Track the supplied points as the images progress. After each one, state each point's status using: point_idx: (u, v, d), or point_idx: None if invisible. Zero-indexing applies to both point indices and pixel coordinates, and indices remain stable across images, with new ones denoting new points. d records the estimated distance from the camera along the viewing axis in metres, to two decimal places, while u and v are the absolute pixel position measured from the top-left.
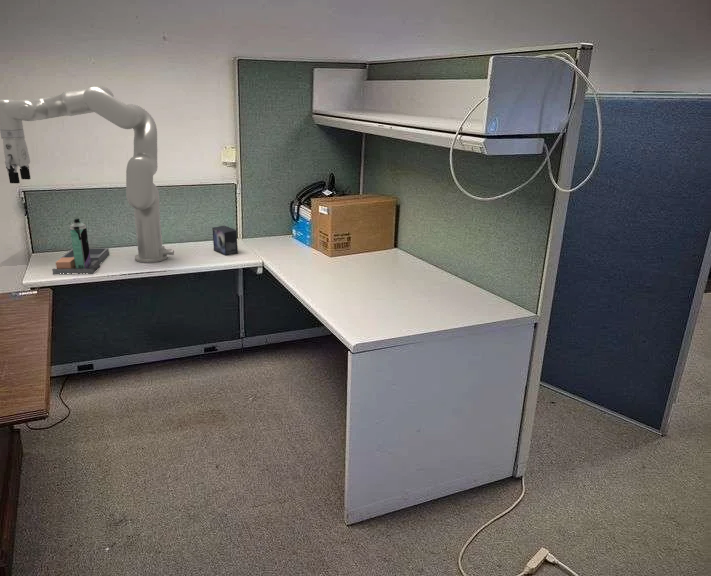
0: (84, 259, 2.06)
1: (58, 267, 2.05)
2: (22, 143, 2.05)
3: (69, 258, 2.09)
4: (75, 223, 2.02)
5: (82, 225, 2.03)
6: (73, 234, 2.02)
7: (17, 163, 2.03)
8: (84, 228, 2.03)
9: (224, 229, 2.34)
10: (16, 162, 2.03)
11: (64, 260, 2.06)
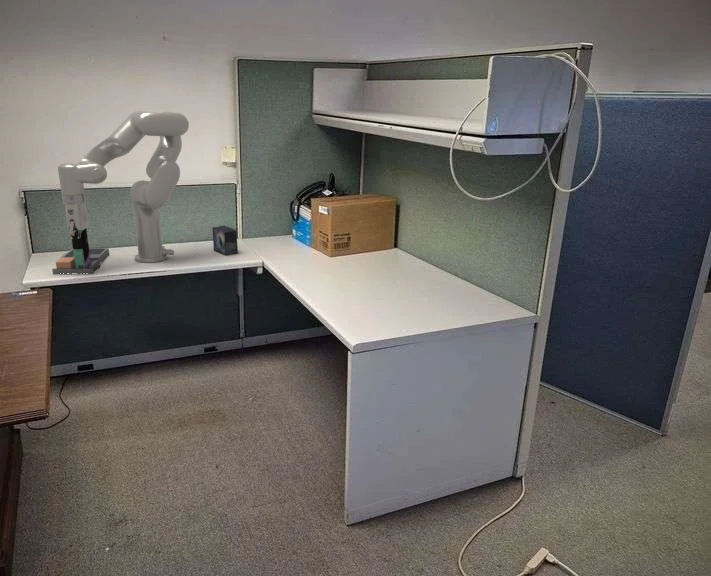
0: (84, 259, 2.06)
1: (58, 267, 2.05)
2: (83, 206, 2.02)
3: (69, 258, 2.09)
4: None
5: None
6: None
7: (79, 227, 1.99)
8: None
9: (224, 229, 2.34)
10: (78, 227, 1.99)
11: (64, 260, 2.06)
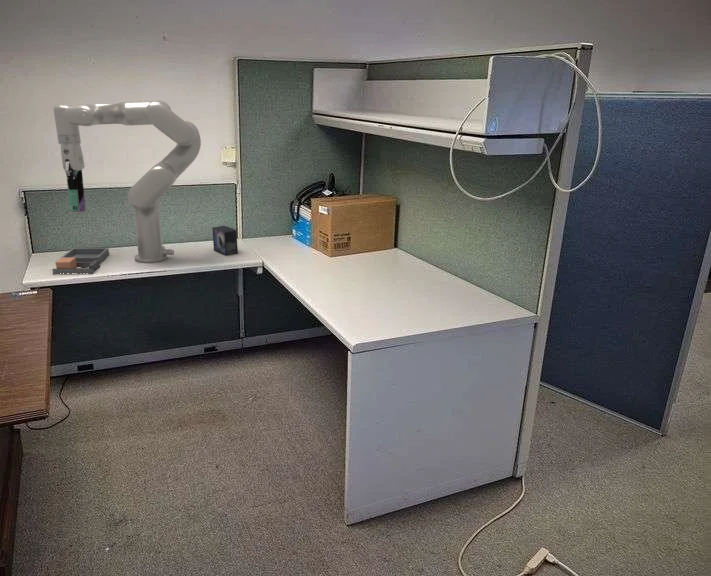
0: (79, 200, 2.12)
1: (58, 267, 2.05)
2: (78, 148, 2.08)
3: (69, 258, 2.09)
4: None
5: None
6: None
7: (74, 167, 2.05)
8: None
9: (224, 229, 2.34)
10: (73, 167, 2.05)
11: (64, 260, 2.06)
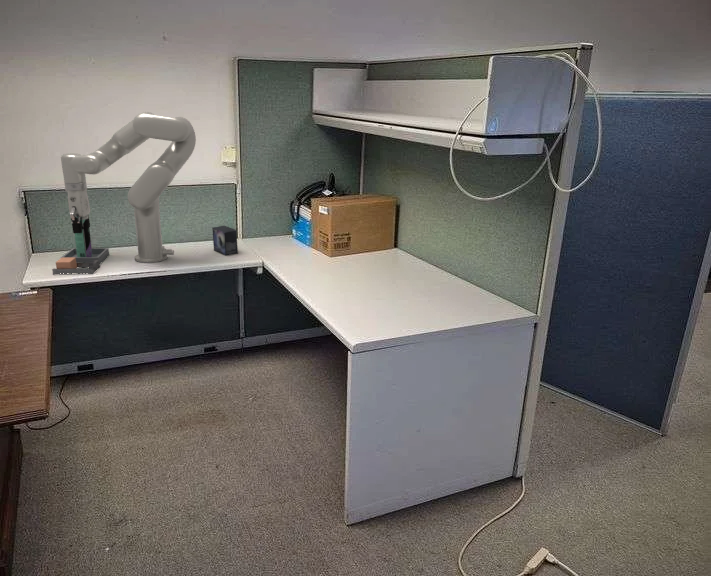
0: (86, 248, 2.18)
1: (58, 267, 2.05)
2: (84, 194, 2.13)
3: (69, 258, 2.09)
4: None
5: None
6: None
7: (80, 214, 2.11)
8: (86, 218, 2.15)
9: (224, 229, 2.34)
10: (80, 213, 2.11)
11: (64, 260, 2.06)
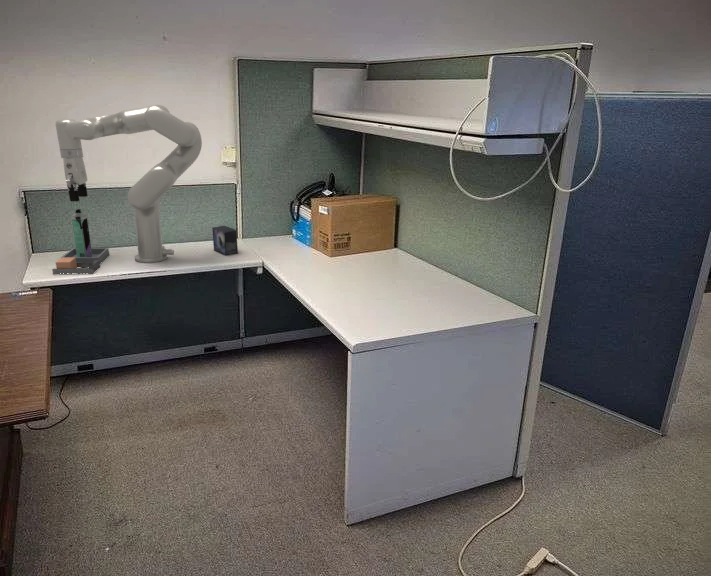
0: (85, 247, 2.18)
1: (58, 267, 2.05)
2: (80, 161, 2.09)
3: (69, 258, 2.09)
4: (77, 213, 2.14)
5: (83, 215, 2.15)
6: (74, 223, 2.14)
7: (77, 181, 2.07)
8: (85, 218, 2.16)
9: (224, 229, 2.34)
10: (76, 180, 2.07)
11: (64, 260, 2.06)
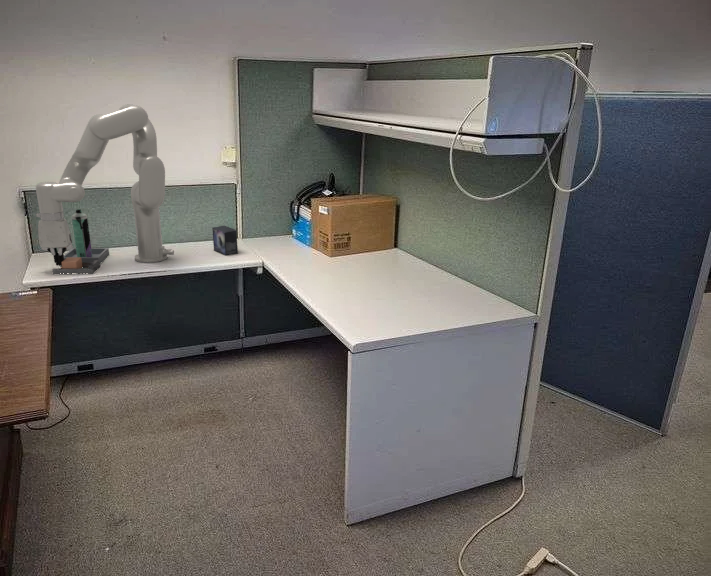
0: (85, 248, 2.18)
1: (64, 267, 2.05)
2: (50, 226, 2.00)
3: (75, 258, 2.09)
4: (77, 213, 2.14)
5: (83, 215, 2.15)
6: (74, 224, 2.14)
7: None
8: (85, 218, 2.16)
9: (224, 229, 2.34)
10: None
11: (70, 260, 2.06)
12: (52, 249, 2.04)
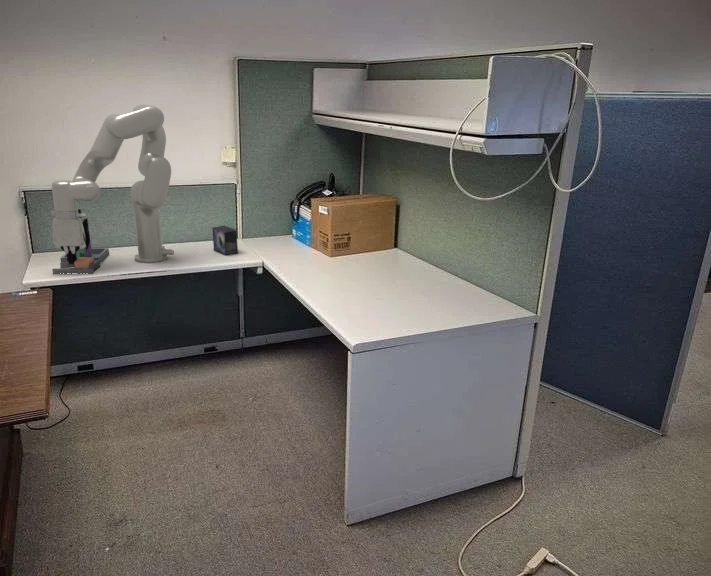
0: (85, 248, 2.18)
1: (77, 267, 2.05)
2: (65, 224, 2.00)
3: (87, 258, 2.10)
4: None
5: (83, 215, 2.15)
6: None
7: None
8: (85, 218, 2.16)
9: (224, 229, 2.34)
10: None
11: (82, 260, 2.07)
12: (65, 247, 2.04)
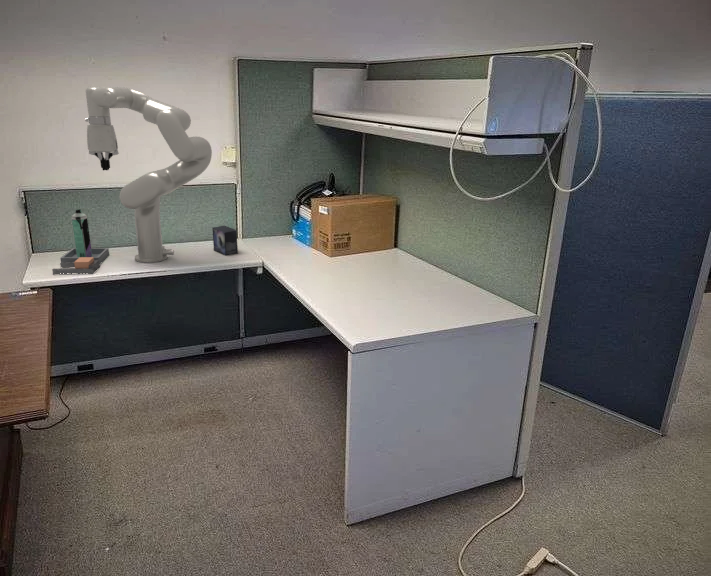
0: (85, 248, 2.18)
1: (77, 267, 2.05)
2: (98, 130, 2.09)
3: (87, 258, 2.10)
4: (77, 213, 2.14)
5: (83, 215, 2.15)
6: (74, 224, 2.14)
7: None
8: (85, 218, 2.16)
9: (224, 229, 2.34)
10: None
11: (82, 260, 2.07)
12: (99, 153, 2.14)
